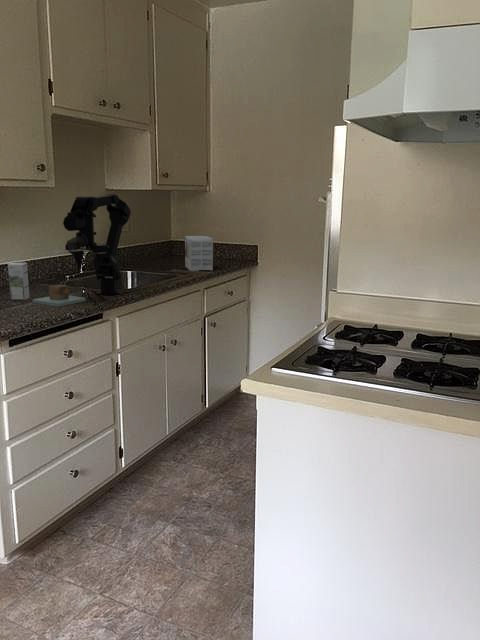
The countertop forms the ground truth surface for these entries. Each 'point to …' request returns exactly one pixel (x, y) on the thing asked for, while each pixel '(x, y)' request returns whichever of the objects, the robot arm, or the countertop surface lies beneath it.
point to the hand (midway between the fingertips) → (88, 269)
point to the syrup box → (18, 280)
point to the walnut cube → (58, 292)
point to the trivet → (59, 301)
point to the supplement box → (198, 253)
